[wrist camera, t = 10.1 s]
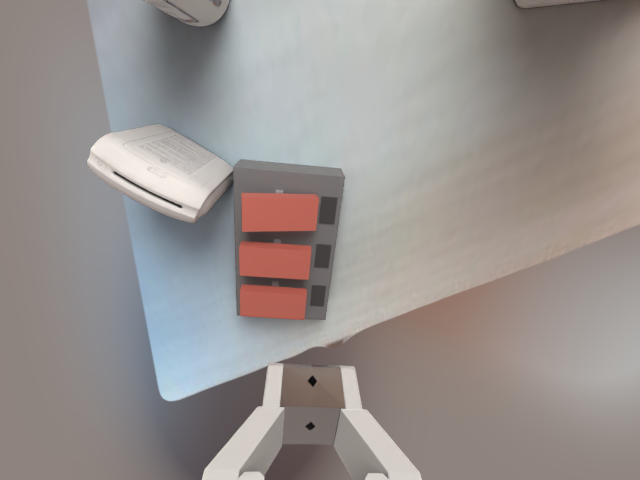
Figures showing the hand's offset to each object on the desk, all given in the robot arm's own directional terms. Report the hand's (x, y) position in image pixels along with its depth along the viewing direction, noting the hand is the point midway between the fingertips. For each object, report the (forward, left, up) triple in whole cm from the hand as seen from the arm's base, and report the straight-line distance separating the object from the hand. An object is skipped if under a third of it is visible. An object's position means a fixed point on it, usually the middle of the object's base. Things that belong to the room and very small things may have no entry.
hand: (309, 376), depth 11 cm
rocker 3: (+3, +15, -24) cm, 29 cm away
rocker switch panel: (+2, +9, -29) cm, 30 cm away
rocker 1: (+3, +3, -24) cm, 25 cm away
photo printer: (+14, -1, -29) cm, 32 cm away
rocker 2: (+3, +9, -24) cm, 26 cm away
